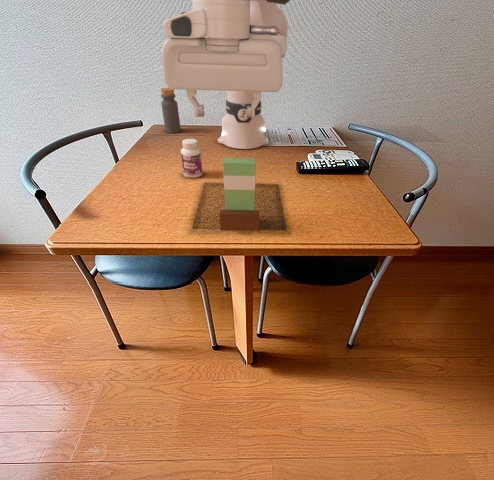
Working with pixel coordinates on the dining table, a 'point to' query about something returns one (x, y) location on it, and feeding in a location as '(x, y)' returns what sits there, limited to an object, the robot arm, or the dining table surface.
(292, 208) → the dining table surface
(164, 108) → the bottle
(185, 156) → the pill bottle
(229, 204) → the block
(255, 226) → the mat
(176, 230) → the dining table surface
